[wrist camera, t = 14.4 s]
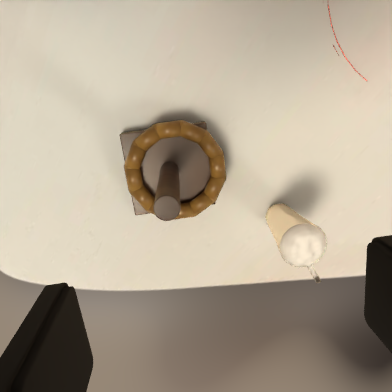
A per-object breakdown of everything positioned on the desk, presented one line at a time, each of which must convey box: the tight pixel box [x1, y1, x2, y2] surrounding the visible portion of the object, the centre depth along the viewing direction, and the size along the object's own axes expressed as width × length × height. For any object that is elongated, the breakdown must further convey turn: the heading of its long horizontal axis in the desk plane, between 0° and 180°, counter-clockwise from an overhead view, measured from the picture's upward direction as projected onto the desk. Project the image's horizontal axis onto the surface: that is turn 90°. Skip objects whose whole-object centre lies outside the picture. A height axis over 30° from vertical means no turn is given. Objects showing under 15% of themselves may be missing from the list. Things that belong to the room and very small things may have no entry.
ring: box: [124, 120, 226, 219], centre depth 35 cm, size 10×10×2 cm
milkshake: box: [265, 203, 327, 283], centre depth 35 cm, size 5×5×10 cm
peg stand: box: [120, 122, 215, 221], centre depth 31 cm, size 9×9×14 cm
